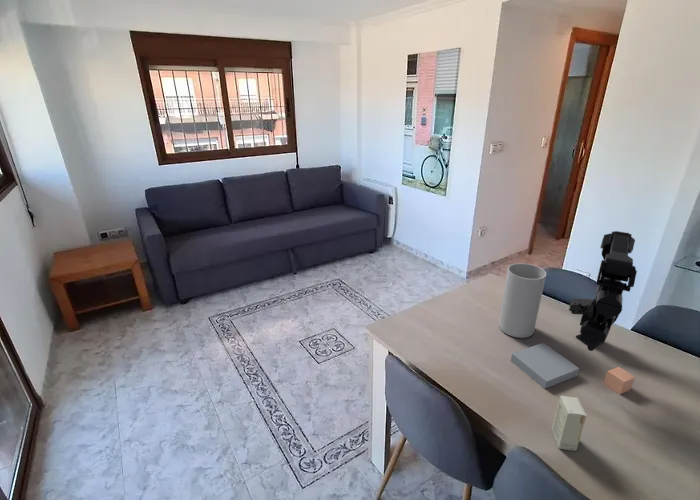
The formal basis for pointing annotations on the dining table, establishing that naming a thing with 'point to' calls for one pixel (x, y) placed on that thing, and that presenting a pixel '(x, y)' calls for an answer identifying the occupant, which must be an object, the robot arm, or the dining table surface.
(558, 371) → the slate base
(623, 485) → the dining table surface
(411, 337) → the dining table surface
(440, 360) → the dining table surface
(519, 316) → the cylinder vase
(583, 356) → the dining table surface
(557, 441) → the skincare box
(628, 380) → the terracotta cube
